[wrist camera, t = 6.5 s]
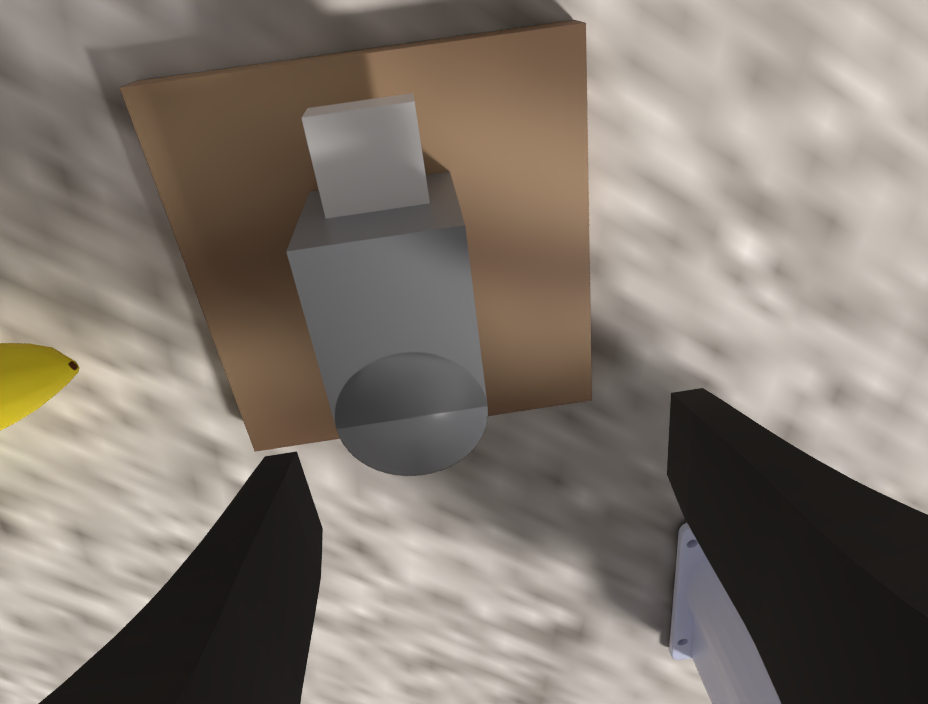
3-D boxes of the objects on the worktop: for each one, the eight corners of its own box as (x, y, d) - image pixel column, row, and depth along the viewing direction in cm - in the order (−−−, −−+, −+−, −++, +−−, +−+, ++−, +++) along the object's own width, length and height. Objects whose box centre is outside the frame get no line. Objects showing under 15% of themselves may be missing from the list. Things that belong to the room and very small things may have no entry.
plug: (476, 376, 22) (494, 463, 18) (359, 394, 22) (352, 485, 18) (438, 80, 17) (451, 112, 13) (287, 102, 17) (255, 140, 13)
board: (583, 381, 24) (592, 400, 23) (260, 430, 23) (254, 451, 22) (574, 20, 17) (585, 22, 16) (135, 81, 17) (119, 88, 16)
